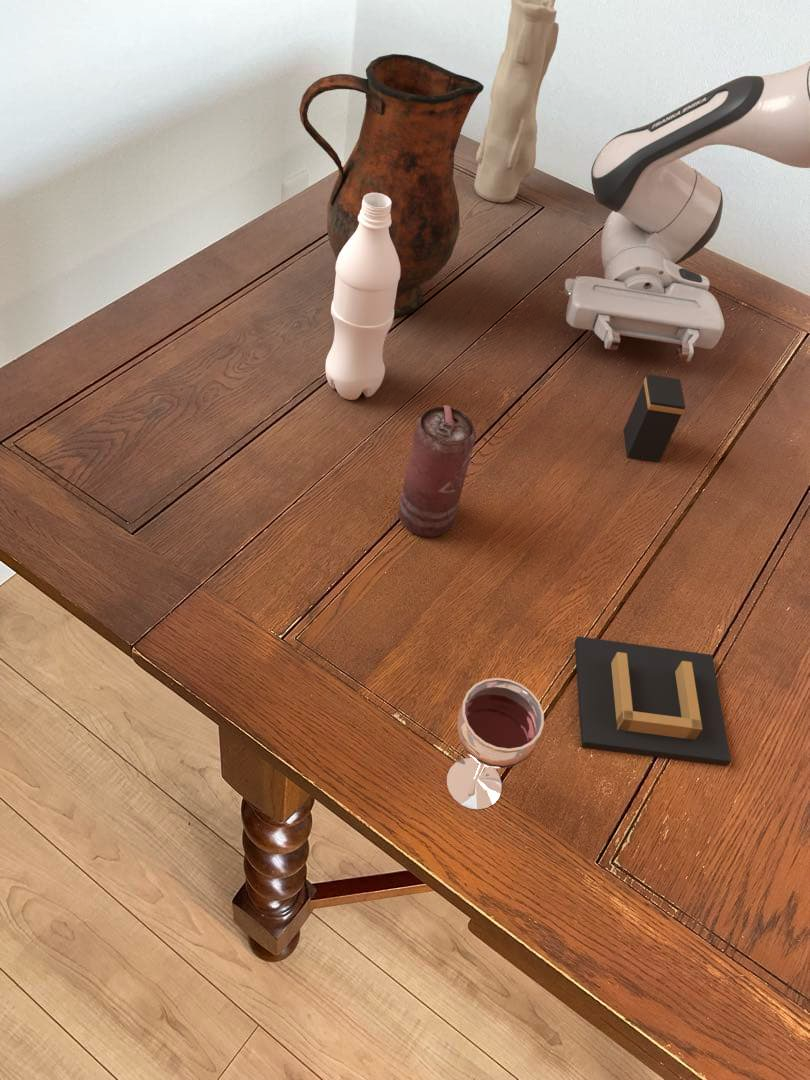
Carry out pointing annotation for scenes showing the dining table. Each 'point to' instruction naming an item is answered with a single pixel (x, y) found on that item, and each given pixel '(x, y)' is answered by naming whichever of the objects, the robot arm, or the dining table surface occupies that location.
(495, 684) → the wineglass
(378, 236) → the water bottle
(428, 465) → the can
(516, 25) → the vase
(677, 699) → the base pad
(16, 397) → the dining table surface
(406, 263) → the pitcher
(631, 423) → the upright block
